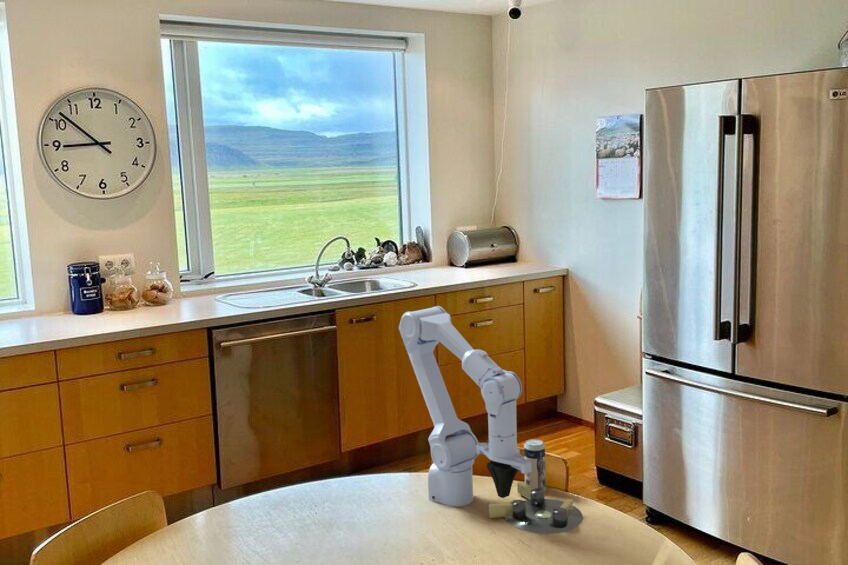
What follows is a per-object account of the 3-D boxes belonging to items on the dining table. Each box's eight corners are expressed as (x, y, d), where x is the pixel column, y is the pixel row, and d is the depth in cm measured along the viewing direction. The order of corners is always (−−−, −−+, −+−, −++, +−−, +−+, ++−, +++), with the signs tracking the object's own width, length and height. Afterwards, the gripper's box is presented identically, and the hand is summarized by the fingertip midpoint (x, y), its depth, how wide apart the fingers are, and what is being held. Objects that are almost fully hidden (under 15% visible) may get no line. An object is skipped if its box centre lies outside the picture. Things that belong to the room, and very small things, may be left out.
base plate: (492, 529, 156) (492, 522, 156) (522, 498, 170) (522, 492, 169) (568, 545, 148) (567, 538, 148) (592, 512, 162) (592, 505, 161)
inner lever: (524, 511, 160) (523, 499, 160) (527, 518, 157) (527, 505, 157) (487, 514, 160) (487, 502, 159) (490, 521, 157) (490, 508, 156)
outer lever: (564, 528, 152) (564, 515, 152) (550, 525, 154) (550, 512, 153) (577, 512, 159) (576, 500, 158) (563, 510, 160) (563, 497, 160)
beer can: (545, 498, 169) (544, 446, 168) (524, 497, 170) (522, 445, 169) (546, 489, 174) (545, 438, 172) (525, 488, 175) (524, 438, 173)
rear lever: (547, 504, 163) (547, 491, 163) (536, 507, 162) (536, 495, 161) (525, 491, 170) (524, 480, 169) (514, 495, 168) (514, 483, 168)
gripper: (542, 437, 151) (543, 501, 153) (493, 419, 163) (494, 479, 165) (516, 446, 147) (517, 512, 149) (468, 426, 159) (469, 488, 161)
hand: (503, 495), depth 157 cm, fingers closed
